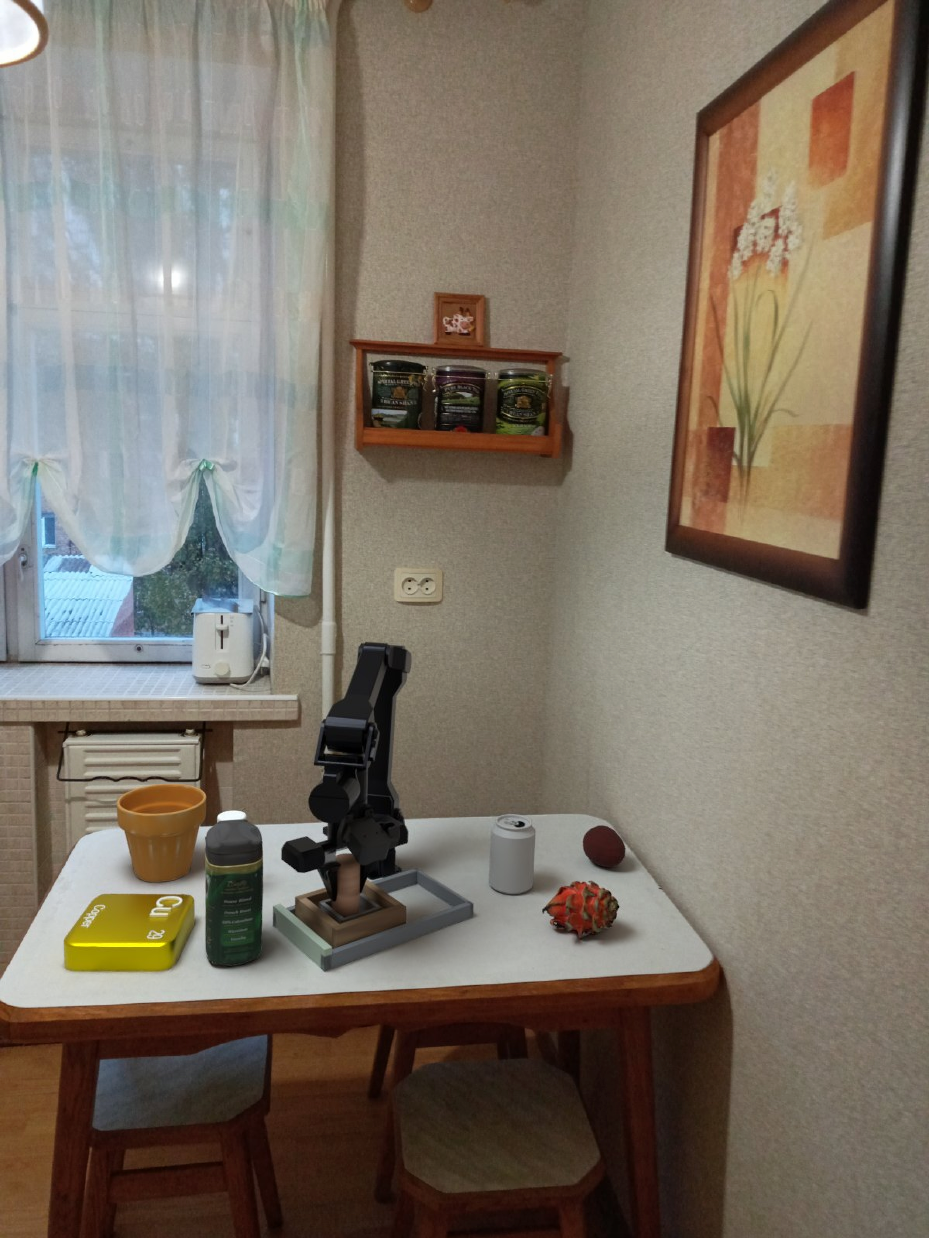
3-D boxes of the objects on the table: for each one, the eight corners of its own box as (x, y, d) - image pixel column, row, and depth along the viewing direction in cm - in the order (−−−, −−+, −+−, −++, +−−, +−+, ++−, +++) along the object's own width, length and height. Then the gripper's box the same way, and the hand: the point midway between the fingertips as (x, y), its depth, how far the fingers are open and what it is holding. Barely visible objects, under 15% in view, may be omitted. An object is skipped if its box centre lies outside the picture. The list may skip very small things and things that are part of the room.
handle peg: (327, 919, 133) (327, 857, 132) (350, 912, 136) (351, 850, 134) (340, 931, 130) (341, 867, 129) (364, 923, 133) (365, 860, 131)
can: (529, 900, 146) (533, 831, 144) (484, 894, 147) (487, 825, 145) (535, 880, 153) (538, 814, 151) (492, 874, 155) (495, 809, 153)
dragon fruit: (624, 944, 137) (546, 953, 136) (612, 892, 142) (538, 901, 142) (627, 918, 130) (546, 928, 130) (615, 866, 136) (537, 875, 136)
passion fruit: (603, 878, 155) (605, 840, 154) (573, 859, 162) (575, 823, 161) (635, 870, 159) (638, 833, 158) (604, 851, 166) (607, 816, 165)
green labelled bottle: (265, 964, 124) (266, 838, 121) (207, 971, 122) (205, 844, 119) (259, 929, 133) (259, 812, 130) (204, 936, 131) (203, 816, 128)
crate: (294, 924, 135) (295, 896, 134) (362, 902, 142) (362, 876, 141) (335, 959, 126) (336, 930, 125) (405, 934, 133) (406, 906, 132)
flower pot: (221, 858, 157) (220, 787, 155) (182, 894, 143) (181, 818, 141) (146, 849, 159) (145, 779, 157) (101, 884, 145) (99, 809, 143)
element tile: (97, 918, 135) (96, 889, 135) (197, 919, 136) (197, 890, 136) (59, 974, 121) (58, 941, 120) (172, 974, 122) (171, 942, 121)
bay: (272, 927, 134) (272, 905, 134) (415, 881, 151) (416, 862, 150) (324, 973, 123) (324, 949, 122) (472, 918, 139) (473, 897, 139)
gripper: (319, 829, 118) (318, 938, 120) (432, 800, 130) (428, 900, 132) (279, 803, 126) (279, 905, 129) (388, 778, 138) (386, 873, 141)
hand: (345, 896), depth 132 cm, fingers closed on handle peg, 4 cm apart
